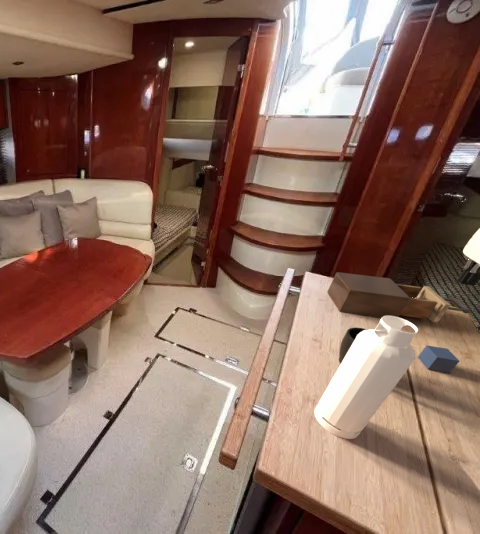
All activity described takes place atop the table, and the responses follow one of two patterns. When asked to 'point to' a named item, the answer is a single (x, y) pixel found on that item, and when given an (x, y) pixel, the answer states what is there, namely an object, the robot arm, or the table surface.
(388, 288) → the cabinet
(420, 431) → the table surface
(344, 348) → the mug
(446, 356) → the block
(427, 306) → the drawer
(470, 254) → the robot arm
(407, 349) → the bottle
